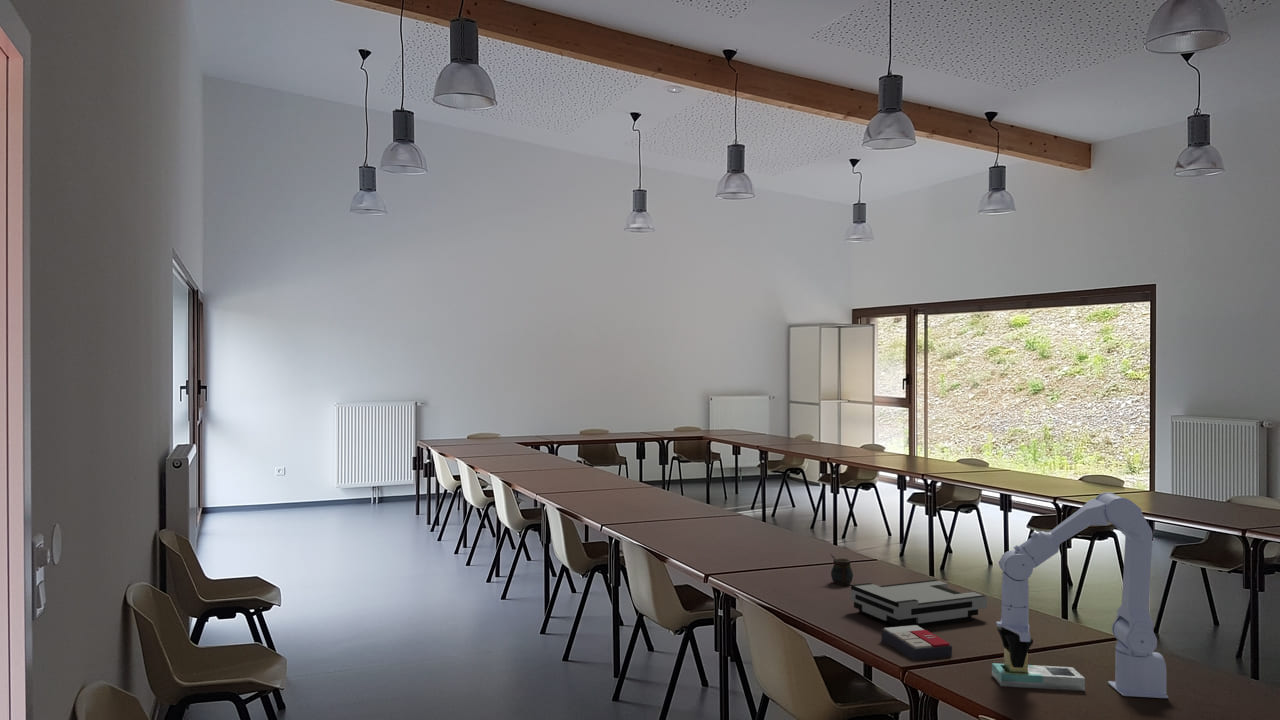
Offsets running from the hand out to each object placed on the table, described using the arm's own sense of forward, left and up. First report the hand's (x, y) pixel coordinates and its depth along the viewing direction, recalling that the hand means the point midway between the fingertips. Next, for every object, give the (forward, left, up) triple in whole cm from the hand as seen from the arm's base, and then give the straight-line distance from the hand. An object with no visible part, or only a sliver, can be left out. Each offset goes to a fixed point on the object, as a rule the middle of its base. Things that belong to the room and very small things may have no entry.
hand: (1014, 663), depth 193 cm
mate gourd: (+29, -85, -4) cm, 90 cm away
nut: (0, 0, -3) cm, 3 cm away
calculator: (+18, -20, -5) cm, 28 cm away
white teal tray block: (-5, 0, -4) cm, 6 cm away
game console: (+11, -51, -5) cm, 52 cm away
